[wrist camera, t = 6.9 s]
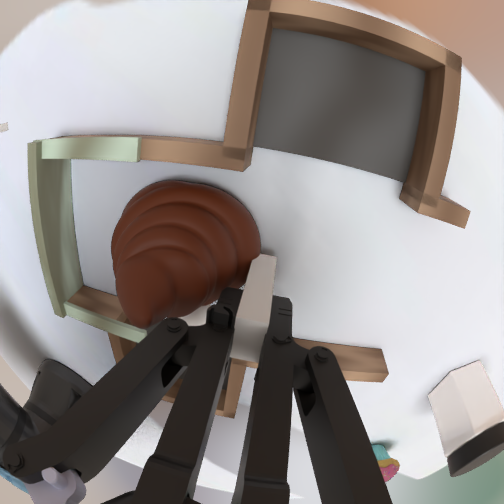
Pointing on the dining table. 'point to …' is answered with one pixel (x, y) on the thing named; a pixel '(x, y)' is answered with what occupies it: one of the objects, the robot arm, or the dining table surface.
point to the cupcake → (385, 462)
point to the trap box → (279, 145)
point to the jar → (468, 418)
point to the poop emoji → (180, 251)
